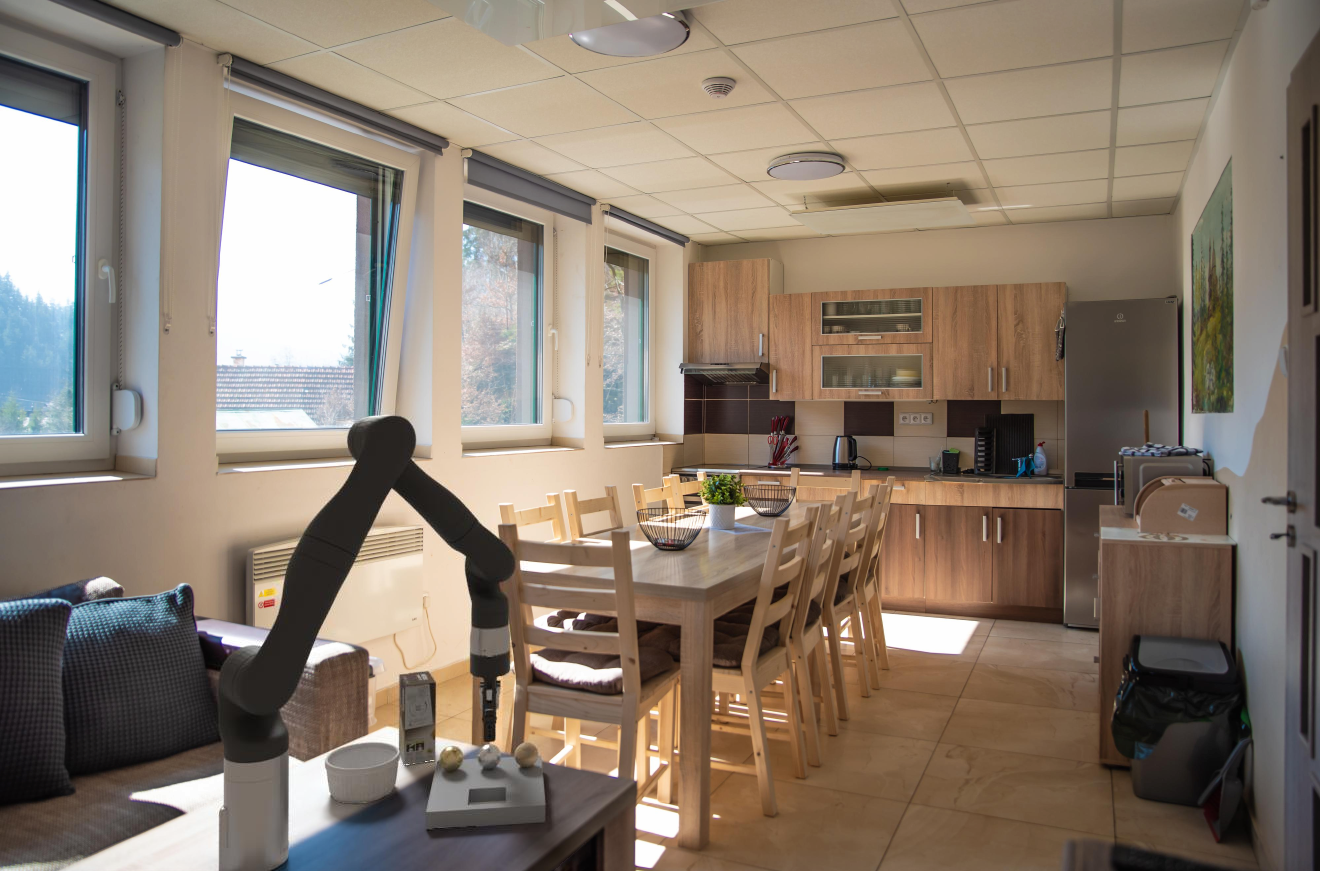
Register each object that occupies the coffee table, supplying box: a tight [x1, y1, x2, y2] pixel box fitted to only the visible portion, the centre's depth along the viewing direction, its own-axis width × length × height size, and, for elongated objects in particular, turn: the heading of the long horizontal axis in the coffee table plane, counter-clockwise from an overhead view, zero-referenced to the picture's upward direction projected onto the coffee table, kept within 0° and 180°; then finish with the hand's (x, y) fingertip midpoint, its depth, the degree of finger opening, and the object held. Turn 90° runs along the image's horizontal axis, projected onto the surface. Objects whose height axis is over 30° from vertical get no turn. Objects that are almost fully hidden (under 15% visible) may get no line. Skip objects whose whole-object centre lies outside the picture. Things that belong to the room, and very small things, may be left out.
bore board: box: [425, 755, 546, 829], centre depth 159 cm, size 20×22×3 cm
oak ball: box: [514, 741, 539, 767], centre depth 166 cm, size 4×4×4 cm
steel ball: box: [476, 743, 502, 769], centre depth 165 cm, size 4×4×4 cm
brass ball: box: [438, 745, 465, 771], centre depth 164 cm, size 4×4×4 cm
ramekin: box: [324, 741, 401, 804], centre depth 161 cm, size 13×13×7 cm
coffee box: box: [398, 670, 437, 766], centre depth 178 cm, size 9×6×16 cm
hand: (490, 732), depth 165 cm, fingers open, 8 cm apart
